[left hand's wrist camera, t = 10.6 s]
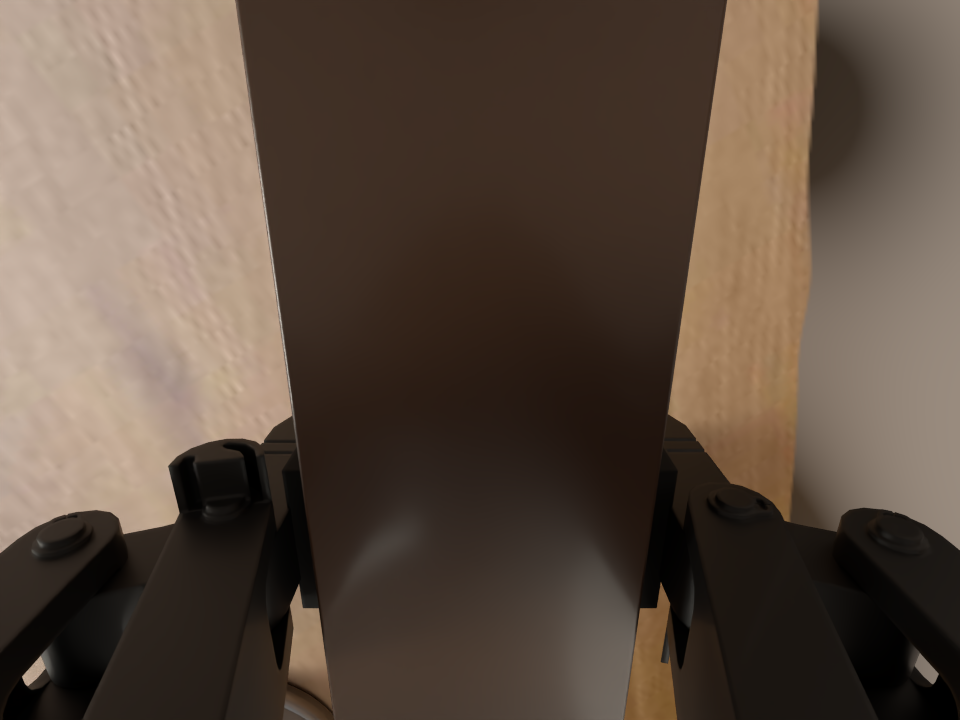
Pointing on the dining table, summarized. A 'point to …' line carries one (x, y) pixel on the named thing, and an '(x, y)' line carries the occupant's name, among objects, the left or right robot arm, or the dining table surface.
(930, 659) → the left robot arm
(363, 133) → the plank
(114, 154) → the dining table surface
